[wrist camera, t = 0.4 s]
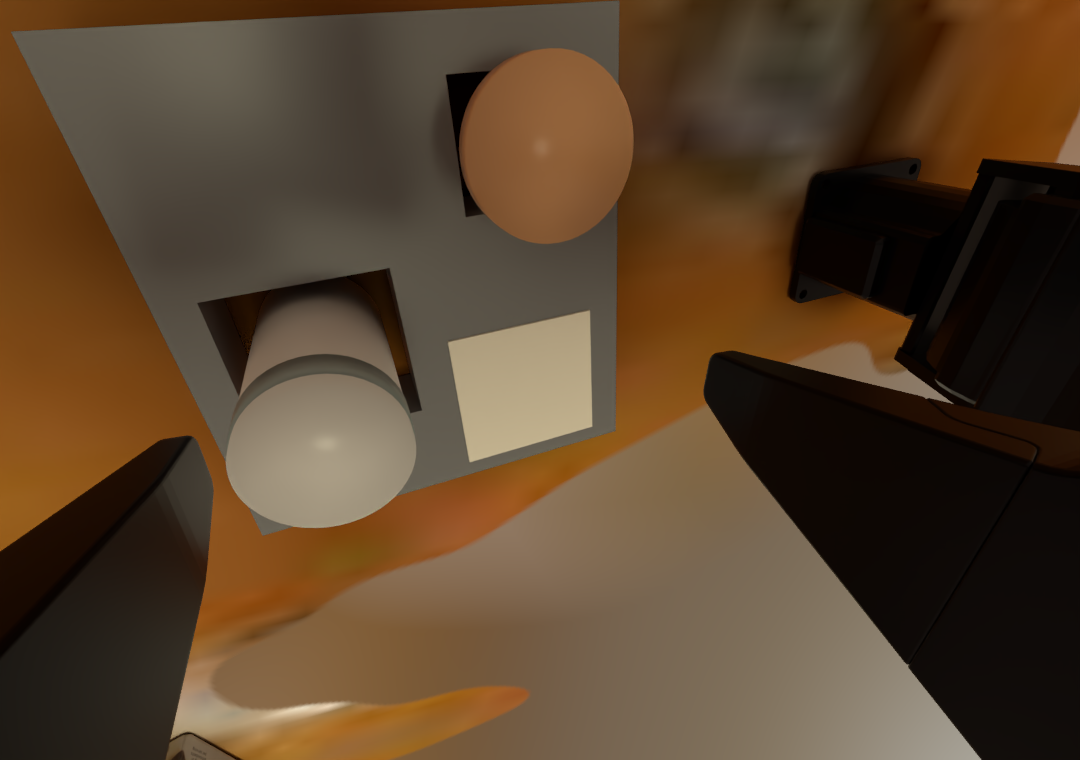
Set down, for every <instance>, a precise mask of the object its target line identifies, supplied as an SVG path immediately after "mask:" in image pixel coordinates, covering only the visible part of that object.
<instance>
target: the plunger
mask: <svg viewBox="0 0 1080 760" xmlns="http://www.w3.org/2000/svg"><path fill="white" fill-rule="evenodd" d="M633 147H634V135H633V125H632V118H631V115H630V111H629V107H628V104H627V102H626V99H625V97H624V95H623V93H622V91H621V89H620V87H619V85H618V84H617V83H616V81H615V80H614V79H613V77H612V76H611V75H610V74H609V73H608V72H607V71H606V70H605V68H604V67H602V66H601V65H600V64H599V63H597V62H596V61H595V60H593V59H591V58H589V57H588V56H586V55H584V54H581V53H579V52H576V51H573V50H568V49H562V48H547V49H538V50H532V51H526V52H523V53H520V54H517V55H514V56H512V57H510V58H508V59H506V60H505V61H503V62H502V63H500V64H499V65H498V66H496V67H495V68H494V69H493V70H492V71H491V72H489V73H488V74H487V75H486V76H485V78H484V79H483V80H482V81H481V83H480V84H479V85H478V87H477V88H476V90H475V92H474V93H473V95H472V97H471V98H470V101H469V103H468V105H467V108H466V110H465V114H464V117H463V121H462V125H461V131H460V141H459V153H460V163H461V168H462V173H463V177H464V180H465V183H466V186H467V188H468V190H469V192H470V194H471V196H472V198H473V199H474V201H475V203H476V204H477V206H478V207H479V208H480V209H481V210H482V212H483V213H484V214H485V215H486V216H487V217H488V218H489V219H490V220H492V221H493V222H494V223H495V224H496V225H498V226H499V227H500V228H501V229H503V230H504V231H506V232H507V233H509V234H510V235H512V236H514V237H516V238H519V239H521V240H524V241H528V242H532V243H538V244H552V243H560V242H564V241H568V240H571V239H573V238H576V237H578V236H580V235H582V234H583V233H585V232H587V231H588V230H590V229H591V228H593V227H594V226H595V225H597V224H598V223H599V222H600V221H601V220H602V219H603V218H604V217H605V216H606V215H607V213H608V212H609V211H610V210H611V209H612V207H613V206H614V204H615V203H616V201H617V200H618V198H619V196H620V194H621V192H622V191H623V188H624V186H625V183H626V181H627V178H628V175H629V172H630V168H631V163H632V158H633Z"/></svg>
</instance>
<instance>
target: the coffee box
mask: <svg viewBox="0 0 1080 760" xmlns="http://www.w3.org/2000/svg"><path fill="white" fill-rule="evenodd" d="M166 760H236V759H234V758H233V757H231V756H229V755H227V754H225V753H224V752H222V751H220V750H219V749H217V748H215V747H213V746H211V745H209V744H208V743H206V742H204V741H202V740H201V739H199V738H197V737H195V736H194V735H192V734H187V735H182V736H181V737H179V738H177V739H175V740H173V741H171V742H170V743H169V747H168V752H167V756H166Z"/></svg>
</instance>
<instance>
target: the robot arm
mask: <svg viewBox="0 0 1080 760" xmlns="http://www.w3.org/2000/svg"><path fill="white" fill-rule="evenodd" d="M920 168H921V161H920V160H919V159H916V158H909V157H908V158H902V159H897V160H891V161H885V162H879V163H873V164H867V165H861V166H855V167H849V168H843V169H837V170H831V171H826V172H821V173H818V174H817V175H816V176H815V177H814V179H813V180H812V183H811V188H810V193H809V198H808V203H807V208H806V213H805V218H804V224H803V229H802V234H801V239H800V244H799V249H798V254H797V260H796V265H795V270H794V275H793V280H792V285H791V290H790V298H791V300H793V301H795V302H797V303H804V302H808V301H811V300H815V299H819V298H823V297H827V296H831V295H835V294H839V293H843V292H844V293H847V294H849V295H852V296H854V297H857V298H859V299H862V300H864V301H867V302H869V303H872V304H874V305H877V306H879V307H881V308H884V309H886V310H889V311H891V312H894V313H896V314H899V315H901V316H904V317H906V318H909V319H911V320H913V322H912V325H911V327H910V329H909V331H908V333H907V336H906V338H905V340H904V342H903V345H902V347H899V348H898V350H897V353H896V355H895V357H894V359H895V360H896V361H897V362H899V363H900V364H901V365H903V366H904V367H906V368H907V369H908V371H910V372H911V373H912V374H914V375H915V376H916V377H918V378H919V379H921V380H922V381H923V382H925V383H926V384H928V385H929V386H930V387H932V388H933V389H934V390H936V391H937V392H938V393H940V394H941V395H943V396H944V397H946V398H947V399H948V400H949V401H951V402H952V403H954V404H951V403H947V402H943V401H939V400H934V399H930V398H928V399H925V398H924V397H922V396H918V395H913V394H909V393H905V392H901V391H897V390H893V389H889V388H884V387H880V386H876V385H872V384H868V383H864V382H860V381H856V380H852V379H847V378H843V377H839V376H835V375H831V374H827V373H823V372H819V371H815V370H810V369H806V368H802V367H798V366H794V365H790V364H786V363H782V362H778V361H773V360H769V359H765V358H761V357H757V356H753V355H749V354H745V353H741V352H736V351H725V352H719V353H715V354H714V355H712V356H711V358H710V360H709V364H708V369H707V374H706V379H705V384H704V390H703V391H704V398H705V401H706V403H707V404H708V406H709V407H710V409H711V410H712V412H713V413H714V415H715V417H716V418H717V420H718V421H719V423H720V424H721V426H722V427H723V429H724V430H725V432H726V434H727V435H728V437H729V438H730V440H731V441H732V443H733V445H734V446H735V448H736V449H737V451H738V452H739V454H740V455H741V457H742V458H743V459H744V460H745V462H746V463H747V465H748V466H749V467H750V469H751V470H752V471H753V472H754V474H755V475H756V476H757V477H758V479H759V480H760V481H761V482H762V484H763V485H764V486H765V487H766V489H767V490H768V491H769V492H770V494H771V495H772V496H773V497H774V499H775V500H776V501H777V502H778V504H779V505H780V506H781V508H782V509H783V510H784V511H785V513H786V514H787V515H788V516H789V518H790V519H791V520H792V521H793V523H794V524H795V525H796V526H797V528H798V529H799V530H800V531H801V533H802V534H803V535H804V536H805V538H806V539H807V540H808V541H809V543H810V544H811V545H812V546H813V548H814V549H815V550H816V551H817V553H818V554H819V555H820V557H821V558H822V559H823V560H824V562H825V563H826V564H827V565H828V567H829V568H830V569H831V570H832V572H833V573H834V574H835V575H836V577H837V578H838V579H839V580H840V582H841V583H842V584H843V585H844V587H845V588H846V589H847V590H848V592H849V593H850V594H851V595H852V597H853V598H854V599H855V601H856V602H857V603H858V604H859V606H860V607H861V608H862V609H863V611H864V612H865V613H866V614H867V616H868V617H869V618H870V619H871V621H872V622H873V623H874V624H875V626H876V627H877V628H878V629H879V631H880V632H881V633H882V634H883V636H884V637H885V638H886V639H887V640H888V642H889V643H890V644H891V646H892V647H893V648H894V649H895V651H896V652H897V653H898V654H899V656H900V657H901V658H902V660H903V661H904V662H905V663H906V664H909V665H908V667H909V669H910V670H911V671H912V673H913V674H914V675H915V677H916V678H917V679H918V680H919V682H920V683H921V684H922V685H923V687H924V688H925V689H926V690H927V691H928V693H929V694H930V695H931V697H932V698H933V699H934V700H935V702H936V703H937V704H938V705H939V707H940V708H941V709H942V710H943V712H944V713H945V714H946V715H947V717H948V718H949V719H950V721H951V722H952V723H953V724H954V726H955V727H956V728H957V729H958V731H959V732H960V733H961V734H962V736H963V737H964V738H965V739H966V741H967V742H968V743H969V745H970V746H971V747H972V748H973V750H974V751H975V752H976V753H977V755H978V756H979V757H980V758H981V760H1080V166H1078V165H1068V164H1059V163H1047V162H1031V161H1015V160H999V159H982V162H981V164H980V166H979V168H978V171H977V173H979V175H978V177H977V179H976V182H975V184H974V186H973V188H972V190H969V189H963V188H957V187H951V186H945V185H939V184H934V183H928V182H922V181H917V178H918V174H919V171H920ZM823 182H824V183H823ZM822 184H823V186H822ZM800 292H801V293H800ZM212 504H213V483H212V479H211V476H210V473H209V470H208V468H207V465H206V462H205V460H204V457H203V454H202V452H201V449H200V447H199V444H198V442H197V441H196V439H195V438H194V437H192V436H181V437H175V438H168V439H163V440H160V441H158V442H157V443H155V444H154V445H152V446H151V447H149V448H148V449H147V450H145V451H144V452H142V453H141V454H139V455H138V456H137V457H135V458H134V459H132V460H131V461H129V462H128V463H127V464H125V465H124V466H122V467H121V468H119V469H118V470H116V471H115V472H114V473H112V474H111V475H109V476H108V477H106V478H105V479H104V480H102V481H101V482H99V483H98V484H96V485H95V486H94V487H92V488H91V489H89V490H88V491H86V492H85V493H84V494H82V495H81V496H79V497H78V498H76V499H75V500H73V501H72V502H71V503H69V504H68V505H66V506H65V507H63V508H62V509H61V510H59V511H58V512H56V513H55V514H53V515H52V516H51V517H49V518H48V519H46V520H45V521H43V522H42V523H41V524H39V525H38V526H36V527H35V528H33V529H32V530H30V531H29V532H28V533H26V534H25V535H23V536H22V537H20V538H19V539H18V540H16V541H15V542H13V543H12V544H10V545H9V546H8V547H6V548H5V549H3V550H2V551H0V760H166V756H167V752H168V747H169V743H170V738H171V734H172V730H173V725H174V721H175V716H176V712H177V708H178V703H179V699H180V694H181V690H182V685H183V681H184V677H185V672H186V668H187V663H188V659H189V655H190V650H191V646H192V641H193V637H194V632H195V628H196V624H197V619H198V615H199V610H200V606H201V601H202V597H203V592H204V587H205V581H206V572H207V563H208V551H209V539H210V528H211V516H212Z"/></svg>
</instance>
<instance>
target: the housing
mask: <svg viewBox="0 0 1080 760" xmlns="http://www.w3.org/2000/svg"><path fill="white" fill-rule="evenodd" d="M11 33H12V35H13V37H14V39H15V41H16V43H17V45H18V47H19V49H20V51H21V53H22V55H23V57H24V59H25V61H26V63H27V65H28V67H29V69H30V71H31V73H32V75H33V77H34V79H35V81H36V83H37V85H38V87H39V89H40V91H41V93H42V95H43V97H44V99H45V101H46V103H47V105H48V107H49V109H50V111H51V113H52V115H53V117H54V119H55V121H56V123H57V125H58V127H59V129H60V131H61V133H62V135H63V137H64V139H65V141H66V143H67V145H68V147H69V149H70V151H71V153H72V155H73V157H74V159H75V161H76V163H77V165H78V167H79V169H80V171H81V173H82V175H83V177H84V179H85V181H86V183H87V185H88V187H89V189H90V191H91V193H92V195H93V197H94V199H95V201H96V203H97V205H98V207H99V209H100V211H101V213H102V215H103V217H104V219H105V221H106V223H107V225H108V227H109V229H110V231H111V233H112V235H113V237H114V239H115V241H116V243H117V245H118V247H119V249H120V251H121V253H122V255H123V257H124V259H125V261H126V263H127V265H128V267H129V269H130V271H131V273H132V275H133V277H134V279H135V281H136V283H137V285H138V287H139V289H140V291H141V293H142V295H143V297H144V299H145V301H146V303H147V305H148V307H149V309H150V311H151V313H152V315H153V317H154V319H155V321H156V323H157V325H158V327H159V329H160V331H161V333H162V335H163V337H164V339H165V341H166V343H167V345H168V347H169V349H170V351H171V353H172V355H173V357H174V359H175V361H176V363H177V365H178V367H179V369H180V371H181V373H182V375H183V377H184V379H185V381H186V383H187V385H188V387H189V389H190V391H191V393H192V395H193V397H194V399H195V401H196V403H197V405H198V407H199V409H200V411H201V413H202V415H203V417H204V419H205V421H206V423H207V425H208V427H209V429H210V431H211V433H212V435H213V437H214V439H215V441H216V443H217V445H218V447H219V449H220V451H221V453H222V455H223V457H224V459H225V461H226V455H227V450H226V445H227V439H228V433H229V429H230V425H231V421H232V416H233V412H234V410H235V407H236V404H237V402H238V400H239V396H240V392H241V387H242V383H243V379H244V374H245V370H246V366H247V361H248V356H247V353H246V351H245V348H244V346H243V344H242V341H241V339H240V336H239V334H238V332H237V329H236V327H235V324H234V322H233V319H232V317H231V315H230V312H229V310H228V307H227V305H226V303H225V300H224V298H227V297H232V296H238V295H243V294H249V293H254V292H260V291H265V290H271V289H277V288H282V287H288V286H293V285H299V284H304V283H310V282H315V281H321V280H326V279H332V278H337V277H343V276H348V275H354V274H360V273H365V272H371V271H376V270H382V269H386V272H387V276H388V280H389V285H390V289H391V293H392V298H393V302H394V306H395V311H396V315H397V319H398V323H399V328H400V332H401V336H402V341H403V345H404V349H405V354H406V358H407V362H408V367H409V371H410V374H407V375H403V376H399V377H398V379H399V383H400V386H401V390H402V393H403V395H404V397H405V399H406V402H407V405H408V408H409V411H410V415H411V418H412V422H413V425H414V431H415V441H416V459H415V464H414V467H413V470H412V473H411V475H410V477H409V479H408V481H407V482H406V484H405V485H404V487H403V488H402V489H401V490H400V492H399V493H398V494H397V495H396V496H398V495H401V494H405V493H408V492H411V491H415V490H418V489H421V488H425V487H428V486H431V485H435V484H438V483H442V482H445V481H448V480H452V479H455V478H458V477H462V476H465V475H468V474H472V473H475V472H479V471H482V470H485V469H489V468H492V467H495V466H499V465H502V464H505V463H509V462H512V461H516V460H519V459H522V458H526V457H529V456H532V455H536V454H539V453H542V452H546V451H549V450H553V449H556V448H559V447H563V446H566V445H569V444H573V443H576V442H579V441H583V440H586V439H590V438H593V437H596V436H600V435H603V434H606V433H610V432H613V431H615V418H616V308H617V201H616V203H615V204H614V206H613V207H612V209H611V210H610V211H609V212H608V213H607V215H606V216H605V217H604V218H603V219H602V220H601V221H600V222H599V223H598V224H597V225H595V226H594V227H593V228H591V229H590V230H588V231H587V232H585V233H583V234H582V235H580V236H578V237H576V238H573V239H571V240H568V241H564V242H560V243H552V244H538V243H532V242H528V241H524V240H521V239H519V238H516V237H514V236H512V235H510V234H509V233H507V232H506V231H504V230H503V229H501V228H500V227H499V226H498V225H496V224H495V223H494V222H493V221H492V220H490V219H489V218H488V217H487V216H486V215H485V214H484V213H483V212H482V210H481V209H480V208H479V207H478V206H477V204H476V203H475V201H474V199H473V198H472V196H467V197H463V194H462V187H461V179H460V172H459V165H458V158H457V151H456V144H455V137H454V130H453V123H452V116H451V109H450V101H449V94H448V87H447V80H446V74H457V73H469V72H481V71H492V70H493V69H494V68H495V67H496V66H498V65H499V64H500V63H502V62H503V61H505V60H506V59H508V58H510V57H512V56H514V55H517V54H520V53H523V52H526V51H532V50H538V49H547V48H562V49H568V50H573V51H576V52H579V53H581V54H584V55H586V56H588V57H589V58H591V59H593V60H595V61H596V62H597V63H599V64H600V65H601V66H602V67H604V68H605V70H606V71H607V72H608V73H609V74H610V75H611V76H612V77H613V79H614V80H615V81H616V83H617V84H618V85H619V1H603V2H583V3H564V4H544V5H524V6H505V7H485V8H466V9H446V10H426V11H407V12H387V13H368V14H348V15H328V16H309V17H289V18H270V19H250V20H230V21H211V22H191V23H172V24H152V25H132V26H113V27H93V28H74V29H54V30H34V31H15V32H11ZM249 509H250V511H251V513H252V515H253V517H254V519H255V521H256V523H257V525H258V527H259V529H260V531H261V533H262V535H267V534H270V533H273V532H277V531H280V530H283V529H287V528H290V527H293V526H290V525H285V524H281V523H278V522H275V521H272V520H270V519H268V518H266V517H264V516H261V515H260V514H258V513H257V512H255V511H253V510H252V509H251V508H250V507H249Z"/></svg>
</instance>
